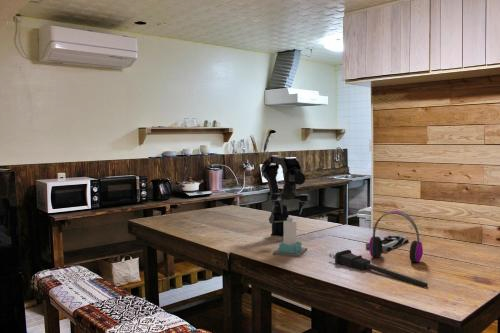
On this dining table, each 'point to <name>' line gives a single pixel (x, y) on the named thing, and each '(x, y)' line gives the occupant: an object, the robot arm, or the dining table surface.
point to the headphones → (415, 246)
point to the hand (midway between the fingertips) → (290, 214)
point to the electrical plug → (369, 266)
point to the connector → (289, 232)
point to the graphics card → (391, 242)
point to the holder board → (290, 249)
